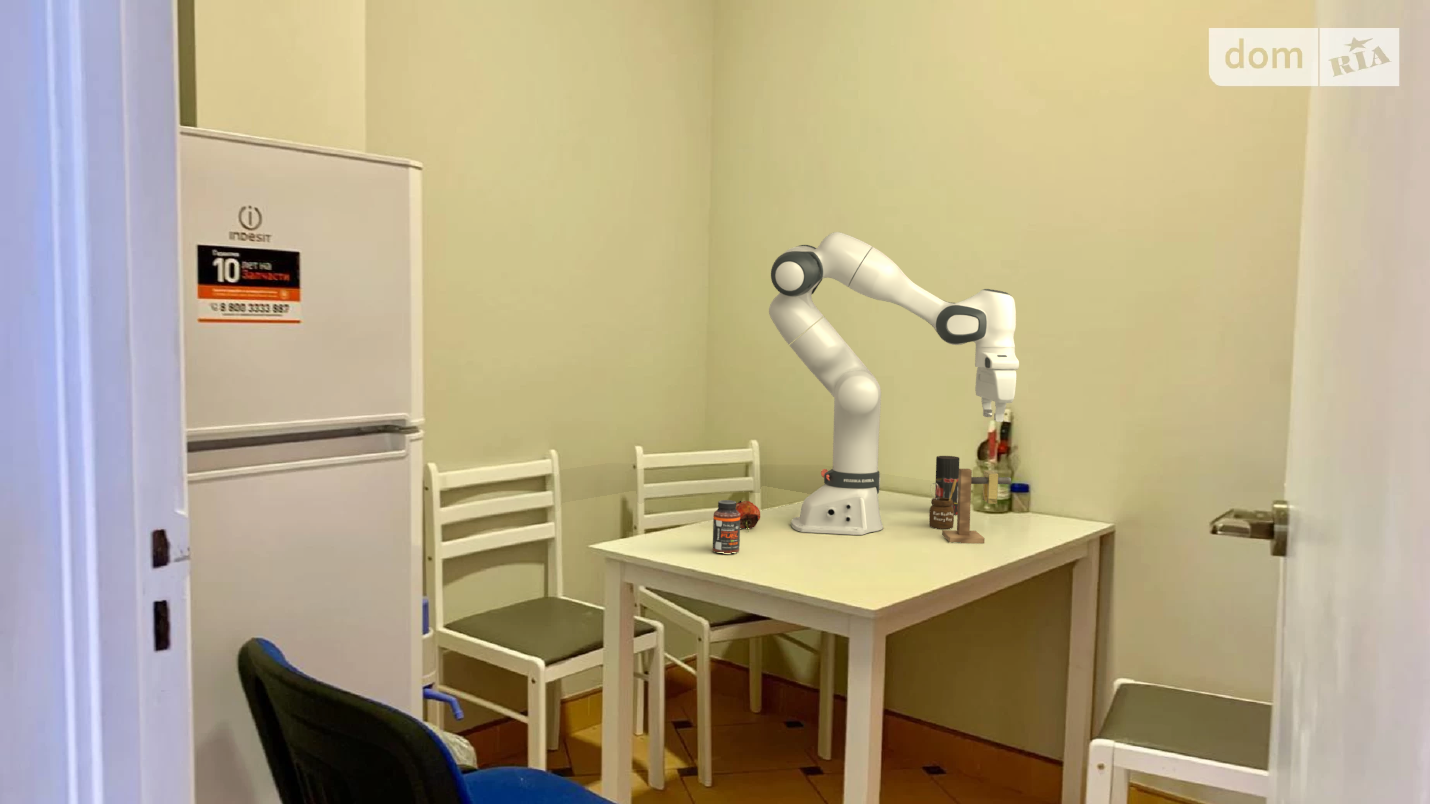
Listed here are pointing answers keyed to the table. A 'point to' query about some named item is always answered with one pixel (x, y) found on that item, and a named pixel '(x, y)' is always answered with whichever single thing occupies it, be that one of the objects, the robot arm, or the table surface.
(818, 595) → the table surface
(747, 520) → the pomegranate
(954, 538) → the stand
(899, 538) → the table surface
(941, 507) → the utensil holder
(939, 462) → the deodorant
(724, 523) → the supplement bottle
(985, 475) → the tan wooden arch piece
